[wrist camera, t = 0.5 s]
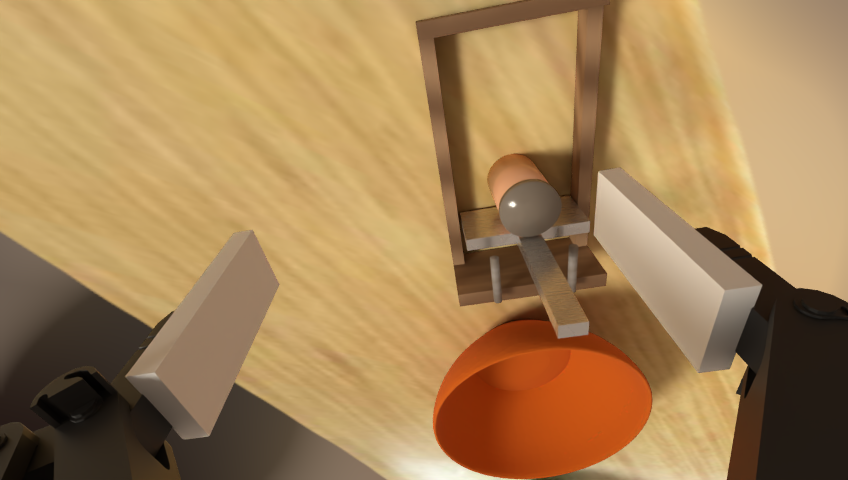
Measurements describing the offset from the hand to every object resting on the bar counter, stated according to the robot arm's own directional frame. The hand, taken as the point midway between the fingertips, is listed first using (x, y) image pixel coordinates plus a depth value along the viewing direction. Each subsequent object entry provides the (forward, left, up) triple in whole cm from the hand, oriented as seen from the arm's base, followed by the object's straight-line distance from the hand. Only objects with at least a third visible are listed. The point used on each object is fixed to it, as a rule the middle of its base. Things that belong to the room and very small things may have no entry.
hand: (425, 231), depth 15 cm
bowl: (+36, +8, -24) cm, 44 cm away
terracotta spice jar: (+9, +8, -23) cm, 26 cm away
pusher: (+12, +8, -23) cm, 27 cm away
